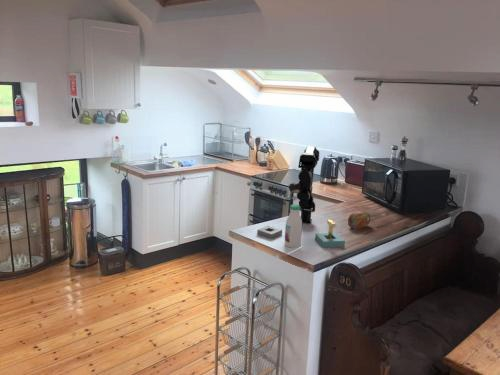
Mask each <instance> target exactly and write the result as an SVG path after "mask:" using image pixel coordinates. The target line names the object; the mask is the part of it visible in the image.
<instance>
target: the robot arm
mask: <svg viewBox="0 0 500 375" xmlns="http://www.w3.org/2000/svg"><path fill="white" fill-rule="evenodd" d="M319 161H320V151H319V150H318V149H317V146H315V145H306V149H304V151H303V152H302V153H301V154H300V155H299V160H298V167H297V168H299V169H300V172H299V173H298V181H296V182H292V183H289V184H288V190H289V192H293V191H296V190H297V192H296V198H297V199H298V205H299V206H300V211H299V212H300V217H301V220H302V223H309V224H312V221H313V220H312V219H313V218H312V213H314V212H316V202H315V201H314V197H313V195H312V193H313V188H314V187H313V182H314V175H315V174H314V172H315V171H314V170H315V168H316V166H317V165H318V163H319Z"/></svg>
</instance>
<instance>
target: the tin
mask: <svg viewBox="0 0 500 375" xmlns="http://www.w3.org/2000/svg"><path fill="white" fill-rule="evenodd" d="M370 221H371V214H370V213H369V212H367V211H359V212H355V213H354V212H353V213H351V214H349V216H348V218H347V225H348V227H349V228H351V229H354V230H356V229H361V228H366V227H368V226H369V224H370Z"/></svg>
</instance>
